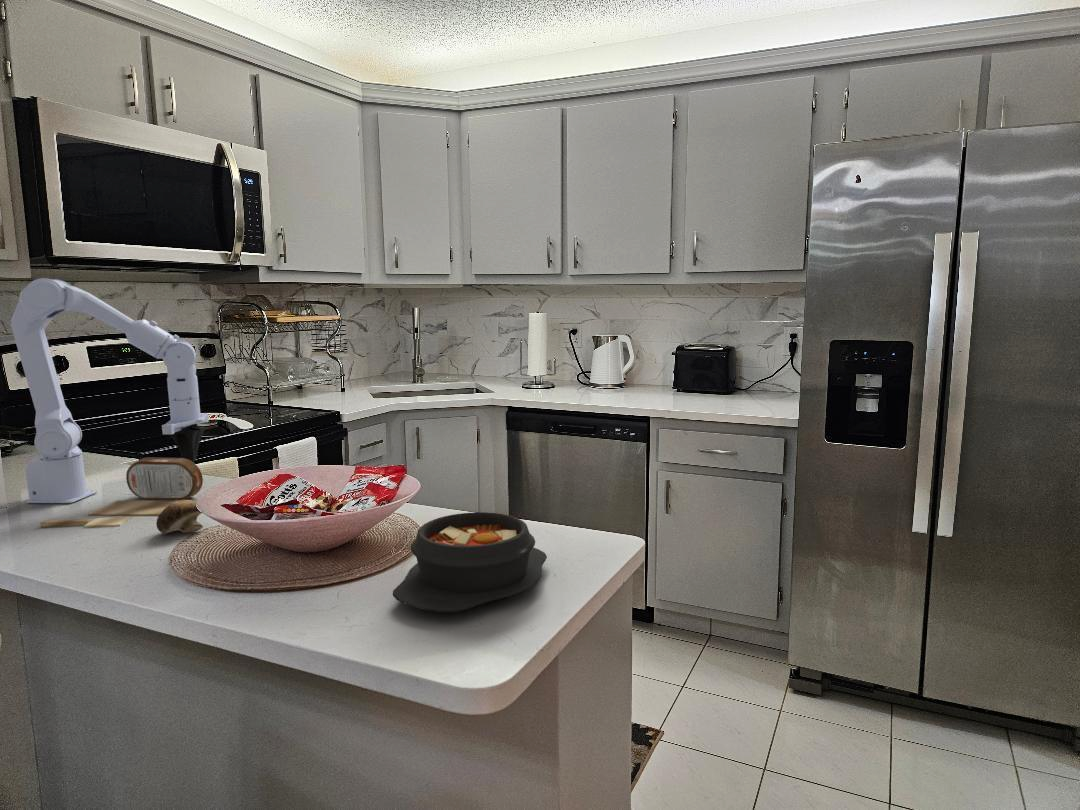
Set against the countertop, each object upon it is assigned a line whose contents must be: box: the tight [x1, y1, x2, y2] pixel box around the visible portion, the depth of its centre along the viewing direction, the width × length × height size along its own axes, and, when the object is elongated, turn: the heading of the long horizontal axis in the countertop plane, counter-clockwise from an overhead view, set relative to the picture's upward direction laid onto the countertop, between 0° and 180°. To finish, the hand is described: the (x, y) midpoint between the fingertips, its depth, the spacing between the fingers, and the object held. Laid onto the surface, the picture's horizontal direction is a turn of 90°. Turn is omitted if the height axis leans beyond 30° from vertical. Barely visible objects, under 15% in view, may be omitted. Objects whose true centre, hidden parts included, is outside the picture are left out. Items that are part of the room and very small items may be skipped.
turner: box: [40, 516, 132, 529], centre depth 128 cm, size 14×4×1 cm, turn 97°
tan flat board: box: [87, 500, 177, 517], centre depth 137 cm, size 17×8×1 cm, turn 87°
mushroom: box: [155, 499, 204, 535], centre depth 122 cm, size 8×8×6 cm
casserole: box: [392, 511, 548, 613], centre depth 97 cm, size 25×19×8 cm
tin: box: [125, 456, 204, 501], centre depth 143 cm, size 15×3×8 cm, turn 84°
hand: (189, 461), depth 152 cm, fingers closed
